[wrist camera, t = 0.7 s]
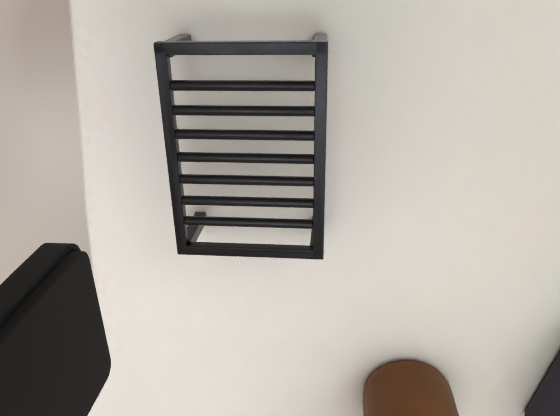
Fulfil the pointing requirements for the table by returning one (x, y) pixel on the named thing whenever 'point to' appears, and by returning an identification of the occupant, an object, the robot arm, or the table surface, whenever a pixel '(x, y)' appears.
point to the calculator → (547, 394)
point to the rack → (190, 233)
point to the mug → (408, 391)
